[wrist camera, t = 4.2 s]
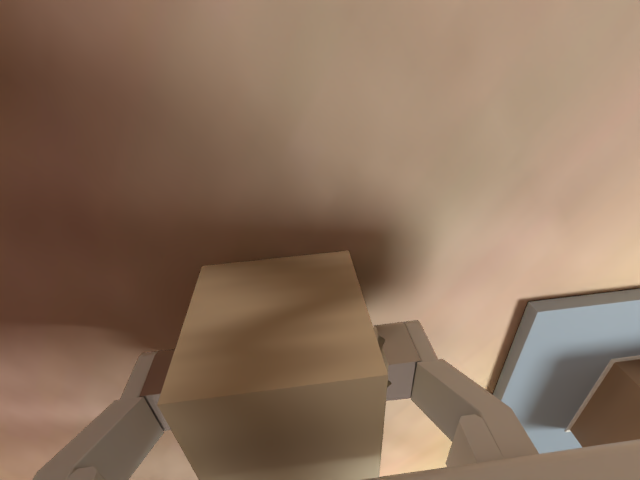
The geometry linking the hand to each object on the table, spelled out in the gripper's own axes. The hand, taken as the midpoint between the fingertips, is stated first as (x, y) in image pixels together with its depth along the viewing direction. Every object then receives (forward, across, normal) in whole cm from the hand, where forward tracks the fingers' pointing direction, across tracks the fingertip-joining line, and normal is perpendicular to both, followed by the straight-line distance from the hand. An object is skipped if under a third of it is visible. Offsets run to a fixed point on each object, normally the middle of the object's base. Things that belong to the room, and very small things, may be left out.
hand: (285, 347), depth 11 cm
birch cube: (+2, 0, 0) cm, 2 cm away
